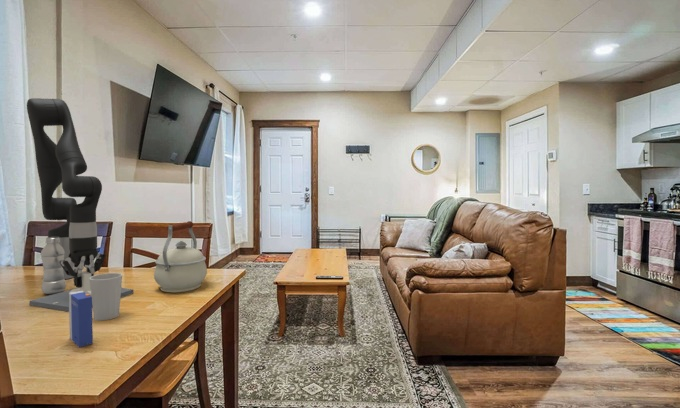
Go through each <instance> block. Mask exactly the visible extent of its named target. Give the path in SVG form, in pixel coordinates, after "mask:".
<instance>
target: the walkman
mask: <svg viewBox="0 0 680 408" xmlns="http://www.w3.org/2000/svg"><path fill="white" fill-rule="evenodd" d="M68 317H69V319H68V320H69V321H68V322H69V325H68V326H69V339H70V340H71V341H72V342H73V343H74V344H75V345H76V346H77V347H78V348H82V347H86V346H89V345H91V344H93V343H94V338H93V337H94V335H93V334H94V333H93V332H94V329H93V307H92V297H91V296H90V295H89V294H87V293H85V292H83V291H77V292H71V293H69V312H68Z"/></svg>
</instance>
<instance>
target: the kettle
mask: <svg viewBox="0 0 680 408" xmlns="http://www.w3.org/2000/svg"><path fill="white" fill-rule="evenodd" d="M193 226H194V222H193V221H191V220H190V221H189V220H188V221H184V222H179V223H175V224H169V225H167V227H166V228H167V231H168V232H167V233H168V234H167V238H166V239H165V240H166V241H165V243H164V246H163V248H162V252H161V253H160V254H159V255H158V257H157V259H155V260H154V263H155V268H154V271H153V279H154V281H155V282H156V285H159V286H160V290H161V291H162V292H164V293H173V294H175V293H177V294H178V293H184V292H190V291H193V290H197V289H199V288H200V287H201V286H202V282H203V281H204V280H205V279H206V277H207V274H208V267H207V264H206V259H207V257H206V256H204V254H203V253H202V252H201V250H199V249H198V248H197V247H198V245H197V238H196V236H195V234H194V233H195V232H194V231H193ZM185 229H188V232H189V235H190V237H191V239H192V245H193V246H192V247H189V246H187V243H186V241H185V242H184V241H183V240H180V241H178V242H176V244H175V247H173V248H169V245H170V243H171V240H172V237H173V233H174V232H175V231H182V230H185ZM168 248H169V249H168Z"/></svg>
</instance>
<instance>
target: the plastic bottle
mask: <svg viewBox="0 0 680 408" xmlns="http://www.w3.org/2000/svg"><path fill="white" fill-rule="evenodd" d="M59 242H60V241H59V237H48V236H47V237H45V246H44V247H43V248H42V249H41V252H40V256H41V260H42V261H41V262H42V268H43V269H42V270H43V271H42V272H43V276H42V282H41V283H42V284H41V291H42V293H43V294H44V295H53V294H57V293H60V292H64V291H66V285H67V284H66V279H64V274H63V268H62V266H61V264H60V263H59V262H60V260H64V253H65V251H64V249H63V248H62V246H60V245H59Z"/></svg>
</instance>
